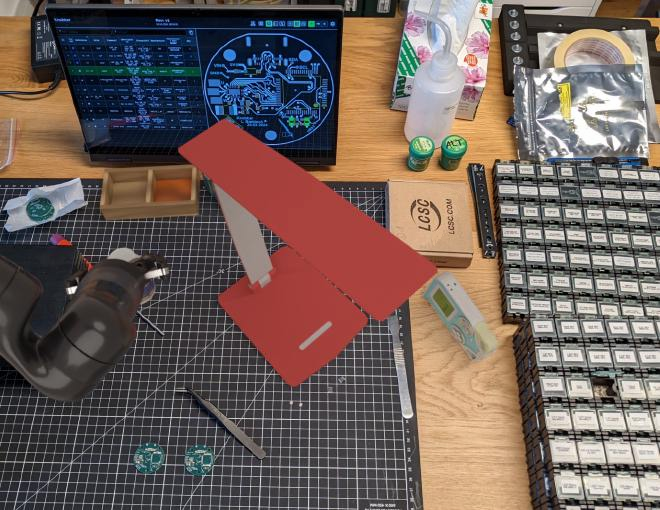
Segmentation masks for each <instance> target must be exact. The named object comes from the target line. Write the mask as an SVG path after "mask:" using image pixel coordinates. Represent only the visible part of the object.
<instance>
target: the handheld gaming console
mask: <svg viewBox="0 0 660 510" xmlns="http://www.w3.org/2000/svg"><path fill="white" fill-rule="evenodd" d="M420 297H421V299H424V300H426V301H427V302H428V303H429V304H430V306H431V307H432V308H433V310H434V312H435V313H436V314H437V316H438V317H439V319H440V320H441V322H442V323H443V324H444V326H445V327H446V329H447V330H448V331H449V333H450V334H451V336H452V337H453V338H454V340H455V341H456V342H457V343H459V345H460V346H461V347H462V349H463V351H464V352H465V353H466V355H467V356H468V358H469V360H471V362H472V363H473V364H476V363H478V362H479V361H481V362H482V361H483V362H484V360H486V359H487V358H489V357H490V356H492V355H493V354H495V352H496V351H497V349H498V347H499V342H498V339H497V337H496V336H495V334H494V333H493V331H492V330H491V329H490V327H489V326H488V324H487V321H486V318H485V317H484V315H483V313H482V312H481V310H480V309H479V308H478V306H477V305H476V303H474V301H473V299H471V297H470V296H469V294H468V293H467V291H466V290H465V288H464V287H463V286H462V284H461V283H460V282H459V280H458V279H457V277H456V276H455V274H453V273H452V272H451V271H447V270H445V271H443V272H441V273H440V274H438V275H437V276H435V277H432V279H431V281H430V283H428V285H427V287H426V288H425V289H424V292H423V293H422V295H421V296H420Z"/></svg>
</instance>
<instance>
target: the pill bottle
mask: <svg viewBox="0 0 660 510" xmlns="http://www.w3.org/2000/svg"><path fill="white" fill-rule="evenodd" d="M133 258H141V255H138V254H137V253H135V252H134V251H133V250H132V249H131V248H129V247H119V248H116V249H115V250H113V251H112V252H111V253H109V255H108V257H107V259H121V260H125V261H127V262H128V261H130V260H132V259H133ZM155 283H156V282H155V280H154V278H150V282H149V283H148V284H146V285H145V290H144V294H143V297H142V300H141V303H140V305H144V304H145V303H147V302H149V301H150V300H151V299H152V298H153V297H154V295H155V292H156V284H155Z"/></svg>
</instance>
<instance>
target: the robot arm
mask: <svg viewBox="0 0 660 510" xmlns="http://www.w3.org/2000/svg"><path fill="white" fill-rule="evenodd" d="M140 257H141V258H133V259H132V260H130V261H128V262H127V261H125V260H121V259H108V258H104V259H102V260H100V261H98V262H96V263H95V264H93V265H92V266H91V267H90V268H89V270H88V268H80V269H79V270H77V271H76V272H74V273H73V274H72V275H71V276H69V277H68V278H66V280H64V281H63V286H64V290H65V293H66V296H67V299H68V300H69V301H68V303H67V305H66V307H65V309H64V312H63V313H62V315H61V316H60V317H59V318H58V319H57V320H56V321H55V322H54V324H53V325H52V326H51V327H50V328H49V330H47V332H46V333H45V334H44V335H43V336H42V335H40V334H39V333H37V332H36V331H35V329H34V328H33V326H32V325H31V323H30V321H31V319H32V317H33V316H34V313H35V311H36V309H37V308H38V306H39V304H40V301H41V299H42V297H43V292H44V287H43V284H42V282H41V280H40V279H38V278H37V277H36V276H35V275H34V274H32V273H31V272H30V271H27V270H26V269H25V268H23V267H21V266H20V265H18V264H16V263H15V262H13V261H12V260H10V259H8V257H7V258H6V257H5V256H3V255H1V254H0V356H1V357H2V358H4V359H5V360H6V361H7V362H8V363H9V364H10V365H11V366H12V367H13V368H14V369H15V370H16V371H17V372H18V373H19V374H20V375H21V376H22V377H23V378H24V379H25V380H26V381H27V382H28V383H29V384H30V385H31V386H32V387H33V388H34V389H35V390H36V391H38V392H39V393H40V394H41V395H43V396H45V397H46V398H49V399H51V400H54V401H57V402H61V403H62V402H63V403H74V402H79V401H82V400H85V398H87V397H88V396H90V395H91V394H92V393H93V392H94V391H95V389H96V388H97V387H98V386H99V385H100V384H101V382H102V381H103V380H104V379H105V378H106V377H107V376H108V375H109V374H110V372H112V370H113V369H114V368H115V367H116V366H117V365H118V363H119V362H120V361H121V360H122V359H123V358H124V357H125V355H126V354H127V353H128V352H129V351H130V349H131V347H132V346H133V344H134V343H135V340H136V338H137V334H138V332H137V331H138V330H137V327H136V325H135V322H134V321H133V320H134V319H135V318H136V316H137V314H138V311H139V308H140V305H141V304H140V303H141V300H142V297H143V294H144V290H145V285H146V284H148V283H149V282H150V278H153V279H154V278H157V280H161V281H169V280H170V279H172V276H171V273H170V270H169V265H168V260H167V259H166V257H165V255H164V254H163V253H156V254H155V255H154V252H150V251H149V250H145V251H143V252H142V254H141V255H140Z"/></svg>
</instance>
